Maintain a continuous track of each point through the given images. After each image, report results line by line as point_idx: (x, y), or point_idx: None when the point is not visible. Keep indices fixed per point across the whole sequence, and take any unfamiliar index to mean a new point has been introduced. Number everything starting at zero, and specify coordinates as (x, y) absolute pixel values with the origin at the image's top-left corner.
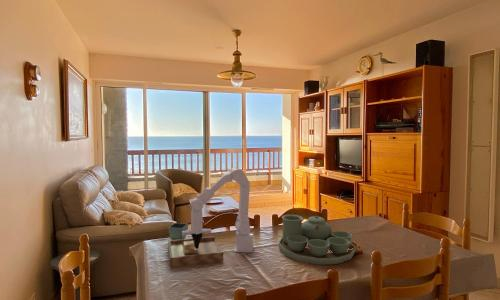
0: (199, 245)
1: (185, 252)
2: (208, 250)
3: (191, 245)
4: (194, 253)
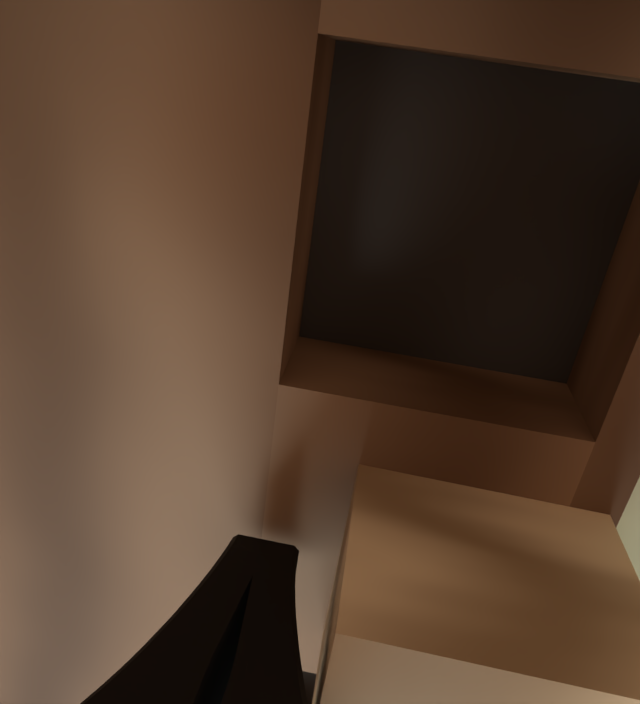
0: None
1: (581, 514)
2: (23, 398)
3: (435, 622)
4: (377, 398)
